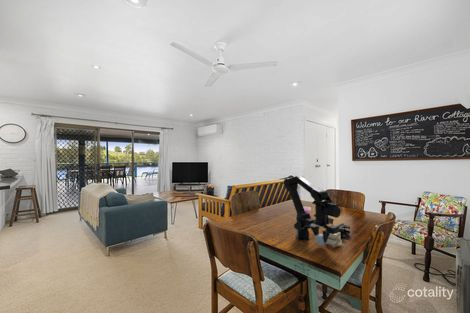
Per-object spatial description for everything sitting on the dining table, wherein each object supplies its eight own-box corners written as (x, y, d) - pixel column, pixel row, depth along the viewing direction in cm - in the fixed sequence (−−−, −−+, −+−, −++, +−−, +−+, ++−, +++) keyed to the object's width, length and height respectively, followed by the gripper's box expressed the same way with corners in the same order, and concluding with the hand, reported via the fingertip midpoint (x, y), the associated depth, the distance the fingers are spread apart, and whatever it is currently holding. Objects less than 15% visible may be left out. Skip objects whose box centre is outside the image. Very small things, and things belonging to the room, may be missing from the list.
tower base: (333, 247, 112) (333, 241, 112) (325, 243, 117) (325, 237, 117) (341, 245, 114) (341, 239, 114) (333, 241, 119) (333, 235, 119)
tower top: (335, 241, 112) (335, 235, 112) (326, 238, 116) (326, 232, 116) (340, 238, 115) (340, 232, 115) (330, 235, 120) (330, 230, 120)
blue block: (322, 245, 108) (322, 237, 108) (315, 242, 112) (315, 235, 112) (327, 243, 110) (327, 236, 110) (320, 240, 114) (320, 233, 114)
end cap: (339, 232, 133) (339, 222, 134) (350, 235, 128) (350, 224, 128) (331, 236, 128) (331, 225, 128) (343, 239, 122) (342, 228, 122)
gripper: (345, 214, 107) (346, 243, 107) (316, 207, 123) (316, 232, 123) (332, 218, 102) (333, 248, 102) (303, 210, 118) (304, 236, 118)
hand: (321, 240), depth 111 cm, fingers closed on blue block, 4 cm apart
